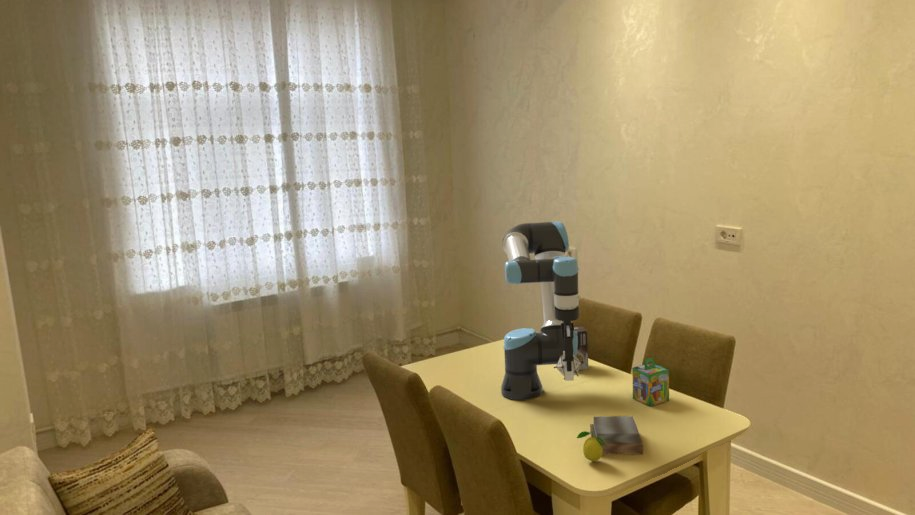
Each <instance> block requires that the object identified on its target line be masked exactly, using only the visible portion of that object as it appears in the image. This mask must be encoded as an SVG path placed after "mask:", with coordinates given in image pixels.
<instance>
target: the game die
mask: <svg viewBox="0 0 915 515" xmlns="http://www.w3.org/2000/svg"><path fill="white" fill-rule="evenodd" d="M573 352H574V351H573ZM559 355H560V358H559V361H558V363H557V364H556V366H553V369H557V371H559V372H560V374H561V375H562V376H564V378H563V380H564V381H565V364H564V361H563V359H565V354H564V355H561V354H559ZM573 358H574V361H573V370H574V376H577V377H579V376H580V375H579V374H578V373H579V371H580V370H579V369H580V366H581V364H583V363H584V362H581V361H580V360H579V359H578V358H577V357H576V356H575V355H574V354H573Z"/></svg>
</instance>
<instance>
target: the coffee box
mask: <svg viewBox="0 0 915 515" xmlns="http://www.w3.org/2000/svg"><path fill="white" fill-rule="evenodd" d="M574 331H576V332H577V336H578V347H577V356H576V357H577V358H578V359H579V360H580V361H581V362H584V363H583V364H581V366H580V369H579V371H581V370H582V371H583V370H589V350H588V349H589V347H588V345H589V344H588V330H586V328H585V327H584V326H582V325H581V326H574Z"/></svg>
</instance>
